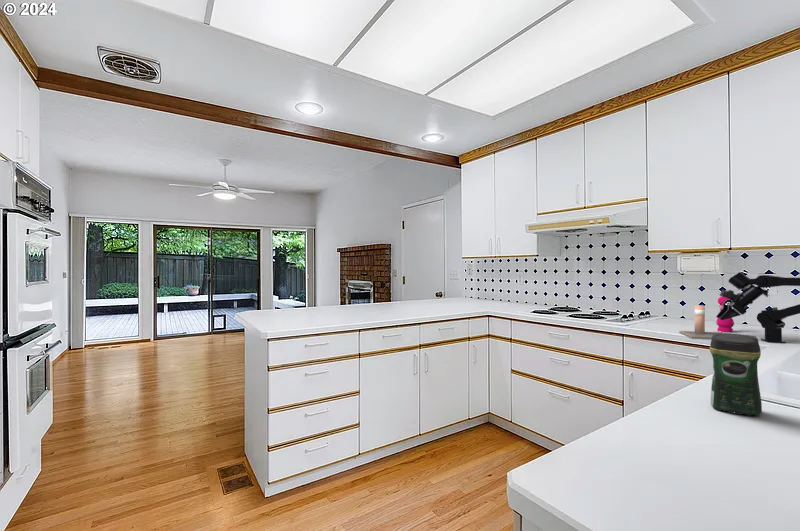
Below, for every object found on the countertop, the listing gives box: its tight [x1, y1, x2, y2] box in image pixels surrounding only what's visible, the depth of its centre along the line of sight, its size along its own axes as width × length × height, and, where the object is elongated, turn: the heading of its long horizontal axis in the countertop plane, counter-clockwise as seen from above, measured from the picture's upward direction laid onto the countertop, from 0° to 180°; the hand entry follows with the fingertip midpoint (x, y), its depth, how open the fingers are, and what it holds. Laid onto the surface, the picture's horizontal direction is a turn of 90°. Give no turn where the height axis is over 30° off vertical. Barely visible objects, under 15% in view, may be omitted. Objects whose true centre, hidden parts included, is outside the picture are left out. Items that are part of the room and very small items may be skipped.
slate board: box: [678, 330, 722, 340], centre depth 195 cm, size 16×18×1 cm
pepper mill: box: [716, 296, 735, 333], centre depth 209 cm, size 7×7×20 cm
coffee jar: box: [709, 332, 763, 416], centre depth 98 cm, size 10×8×19 cm
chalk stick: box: [694, 304, 706, 334], centre depth 199 cm, size 4×4×14 cm
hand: (718, 318), depth 195 cm, fingers open, 9 cm apart
